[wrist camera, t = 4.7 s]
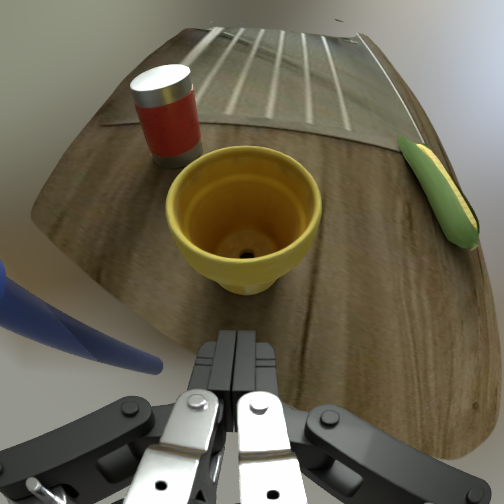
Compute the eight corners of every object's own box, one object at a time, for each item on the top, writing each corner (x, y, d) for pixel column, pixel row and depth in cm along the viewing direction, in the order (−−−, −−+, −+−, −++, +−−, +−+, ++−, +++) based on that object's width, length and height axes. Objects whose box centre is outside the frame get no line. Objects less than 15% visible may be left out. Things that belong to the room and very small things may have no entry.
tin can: (180, 176, 32) (158, 95, 21) (142, 160, 33) (117, 88, 23) (213, 143, 34) (203, 67, 24) (175, 131, 36) (160, 62, 26)
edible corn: (449, 261, 26) (471, 242, 22) (384, 142, 35) (394, 119, 31) (473, 255, 26) (494, 236, 22) (410, 143, 36) (420, 122, 32)
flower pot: (234, 201, 30) (228, 128, 21) (319, 248, 27) (346, 181, 18) (170, 273, 26) (133, 212, 17) (261, 337, 23) (266, 302, 14)
